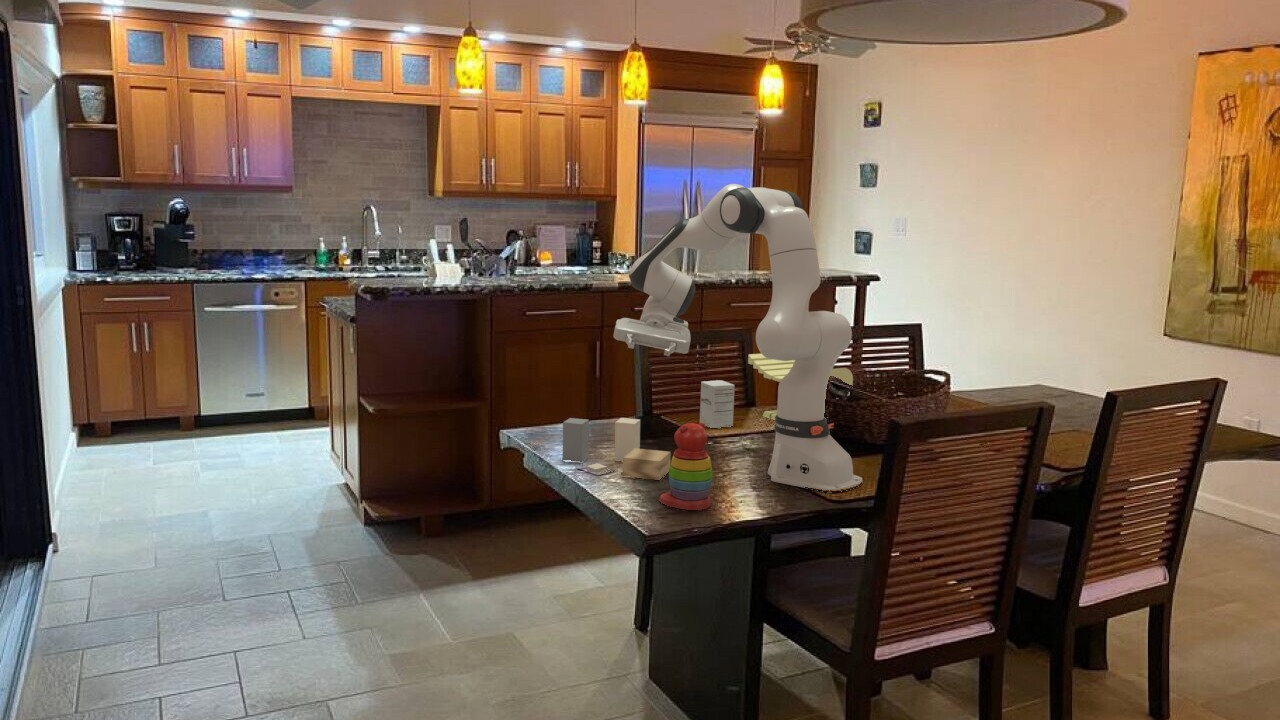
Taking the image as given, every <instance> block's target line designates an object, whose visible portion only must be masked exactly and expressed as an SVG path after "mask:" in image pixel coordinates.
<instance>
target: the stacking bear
mask: <svg viewBox="0 0 1280 720" xmlns="http://www.w3.org/2000/svg"><path fill="white" fill-rule="evenodd" d="M706 427H707V426H705V424H704V423H700V422H699V423H694V422H688V423H684V424H682V425H680V426H679V428H677V430H676V431H675V433H674V436H673V437H674V438H673V439H674V442H675V445H676V446H677V447H678V448H676V449H675V450H674V452H673V455H672V458H671V459H670V468H669V473H668V482H669V483H668V484H669V490H670V491H668V492H665V493H662V494H661V495H660V496H659V498H658V501H660V502H661V503H660V502H659V503H660V504H662V503H663V504H665V505H667V506H666V507H668V506H670V507H669V508H671V507H675V508H680V509H688V510H698V511H702V509H703V510H706V509H708V508H710V507H711V505H712V499H711V496H710V492H711V487H712V485H713V475H714V473H713V466H712V461H711V459H712V458H711V457H710V456H709V453H708V452H707V450H705V447H706V445H707V443H708V432H707V431H706ZM663 504H662V505H663ZM665 505H664V506H665ZM675 508H674V509H675Z"/></svg>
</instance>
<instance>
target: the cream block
mask: <svg viewBox="0 0 1280 720" xmlns="http://www.w3.org/2000/svg"><path fill="white" fill-rule="evenodd" d="M640 447H641V419H638V418H630V417H629V418H626V417H620V418H619V419H617V420H616V421H615V422H614V462H615V461H623V457H624V456H626V455H627V454H628V453H629V452H631V451H632V450H633V449H634V448H637V449H641V448H640Z"/></svg>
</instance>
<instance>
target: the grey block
mask: <svg viewBox="0 0 1280 720" xmlns="http://www.w3.org/2000/svg"><path fill="white" fill-rule="evenodd" d="M589 422H590V419H585V418H575V417H570V418H568V419H566V420H564V421H563V422H562V461H563V460H571V461H580V462H582V461H584V460H585V459H586V458H588V457H589V452H590V451H589V449H590V448H589V447H590V446H589V444H590V443H589V442H590V439H589V438H590V436H589V435H590V433H589V432H590V423H589Z"/></svg>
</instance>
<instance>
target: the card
mask: <svg viewBox="0 0 1280 720" xmlns="http://www.w3.org/2000/svg"><path fill="white" fill-rule="evenodd" d="M595 463H596V464H592V463H591V464H592V465H588V464H587V465H588V466H586V468H587V469H591V470H594V471H600V470H604V469H606V470H607V471H610V472H611V471H615V470H617V469H616V468H612V467H609V466H607V465H603V464H601V463H598V462H595ZM607 468H608V469H610V470H608V469H607ZM604 472H606V471H604ZM606 473H607V472H606Z"/></svg>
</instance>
